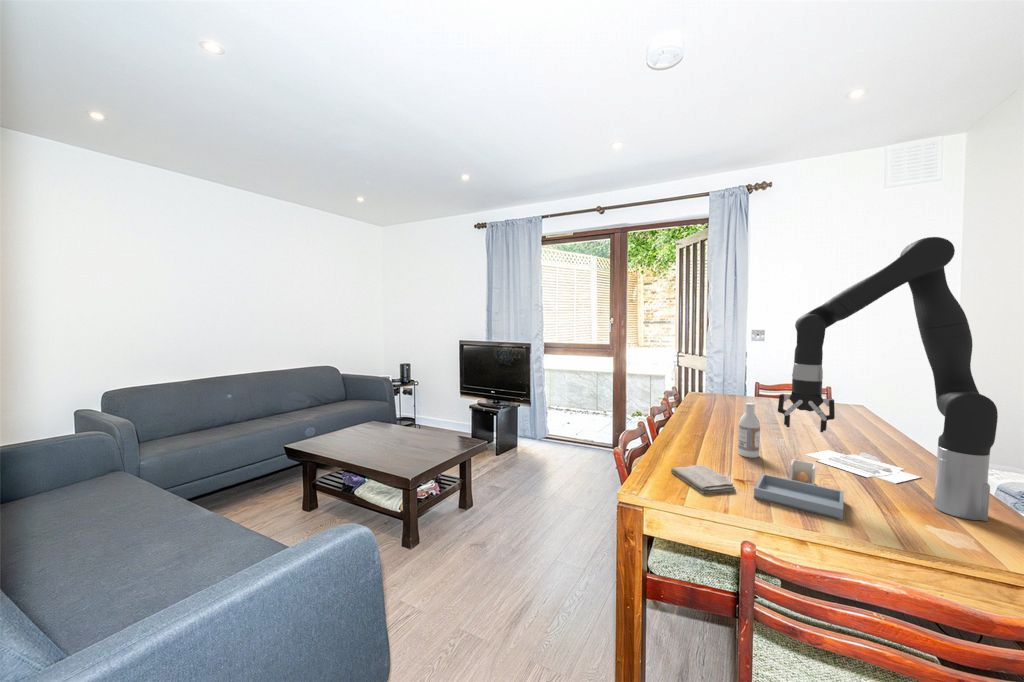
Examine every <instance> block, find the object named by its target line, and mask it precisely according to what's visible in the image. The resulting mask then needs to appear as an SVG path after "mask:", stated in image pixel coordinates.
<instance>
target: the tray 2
mask: <svg viewBox="0 0 1024 682" xmlns="http://www.w3.org/2000/svg"><path fill="white" fill-rule="evenodd" d="M805 456H807V457H810V458H813V459H817V462H819V463H821V464H824V465H828V466H831V467H835V468H838V469H841V470H844V471H847V472H849V473H852V474H856V475H859V476H862V477H865V478H866V479H870V478H876V479H879V480H883V481H885V482H889V483H891V484H895V485H896V484H898V483H902V482H907V481H912V480H915V479H920V478H921V479H922V476H919V475H915V474H912V473H909V472H905V469H904V468H903V467H898V466H895V465H892V464H888V463H885V462H882V460H881V459H880V458H878V457H876V456H874V455H873V454H869V453H867V452H864V451H861V452H860V453H859V454H854V453H852V454H843V453H839V452H837V451H834V450H829V449H828V450H822V451H817V452H811V453H805Z"/></svg>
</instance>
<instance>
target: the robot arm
mask: <svg viewBox="0 0 1024 682" xmlns="http://www.w3.org/2000/svg"><path fill="white" fill-rule="evenodd" d="M954 257H955V246H954V244H953V243H952V241H950V240H949V239H946V238H945V237H939V236H929V237H924V238H920V239H918V240H916V241H913V242H911V243H910V244H908V245H906V246H905V247H904V248H903V249H902V250H901V252H900V255H899V257H897V258H896V259H894V261H892V262H891V263H890V264H888V265H886V266H885V267H883V268H882V269H880V270H879V271H877V272H875V273H874V274H872V275H870V276H868V277H866V278H864V279H862V280H860V281H858V282H857V283H855V284H852V285H851V286H849V287H847V288H846V289H844V290H841V291H840V292H839V293H837V294H836V295H833V297H831V298H830V299H828V300H827V301H826V302H824V303H823V304H821V305H819V306H817V307H815V308H814V309H812V310H809V311H808V312H806V313H805V314H803V315H801V316H799V318H798V319H796V321H795V323H794V324H795V325H794V327H795V330H796V347H794V348H795V349H794V358H793V368H792V374H791V378H792V380H791V393H790V394H789V395H788V394H784V393H780V394H779V395H778V396H779V398H778V404H777V405H778V406H777V412H778V413H780V414H783V416H784V418H783V419H784V423H783V424H784V425H785V426H786V428H790V426H791V413H792V412H794V411H795V410H796V409H797V410H799V411H807V412H813V411H814V413H816V415H817V416H819V418H820V430H819V431H820V433H824V432H825V431H827V426H828V425H827V424H828V423H827V422H828V421H829V420H831V421H832V420H835V418H836V416H835V414H836V412H835V409H836V407H835V399H834V398H829V399H828V398H827V399H826V398H823V396H822V393H823V392H822V391H823V379H824V377H823V376H824V372H823V353H824V352H823V346H824V342H825V336H826V329H828V328H829V327H831V326H832V325H834V324H835V323H837V322H840V321H842V320H844V319H847V318H849V317H851V316H852V315H854V314H857V313H858V312H859V311H861V310H863V309H864V308H866V307H868V306H869V305H870V304H872V303H874V302H876V301H878V300H879V299H881V298H883V297H884V296H885V295H887V294H888V293H891V291H894V290H896V289H897V288H899V287H901V286H903V285H904V284H907V283H908V284H907V285H908V286H909V289H910V292H911V295H912V300H913V301H912V302H913V306H914V311H915V312H914V313H915V317H916V321H917V326H918V331H919V335H920V338H921V341H922V345H923V349H924V351H925V354H926V357H927V360H928V363H929V366H930V368H931V372H932V377H933V380H934V381H933V383H934V388H935V389H934V390H935V399H936V400H935V401H936V407H937V409H938V412H940V414H941V415H942V416H944V422H943V423H944V424H943V431H942V434H940V435H939V436H938V439H937V440H938V441H937V455H936V465H935V466H936V467H935V470H936V471H935V485H934V497H933V506H934V508H935V509H936V510H938V511H940V512H943V513H945V514H947V515H949V516H952V517H953V516H954V517H956V518H962V519H966V520H973V521H984V522H988V520H989V519H988V517H989V509H990V508H989V506H990V505H989V504H990V492H991V485H990V484H989V482H988V480H989V469H990V455H991V448H993V446H994V444H995V440H996V435H997V427H998V417H999V416H998V413H999V412H998V409H997V405H996V403H995V402H994V401H993V400H992V399H991V398H989V396H988V397H987V396H986V395H983V394H981V393H980V391H979V389H978V387H977V386H976V383H975V379H974V377H973V375H972V369H971V365H972V364H971V363H972V354H973V337H972V336H973V335H972V331H971V329H970V324H969V321H968V318H967V315H966V313H965V311H964V309H963V307H962V306H961V304H960V303H959V302H958V300H957V299H956V297H955V295H954V294H953V292H952V291H951V290H950V287H949V284H948V282H947V277H946V271H945V267H946V266H947V265H948V264H949V263H950V262H951V261H952V260H953V258H954ZM787 400H789V401H790V402H791V403H792V405H790V406H789V407H788V408H787V409H784V406H785V402H787ZM822 404H824V405H825V406H826V407H828V410H829V411H828V413H829V414H827V415H826V414H825V413H824V411H823V410H822V409H821V407H820V406H822Z"/></svg>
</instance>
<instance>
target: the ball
mask: <svg viewBox="0 0 1024 682" xmlns="http://www.w3.org/2000/svg"><path fill="white" fill-rule="evenodd" d="M796 478H797V480H798V481H799V482H803V483H806V482H808V480H809V477H808V475H807V474H806V473H804V472H799V473H798V474H797V475H796Z"/></svg>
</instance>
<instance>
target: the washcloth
mask: <svg viewBox="0 0 1024 682" xmlns="http://www.w3.org/2000/svg"><path fill="white" fill-rule="evenodd" d="M670 470H671V471H670V473H672V474H673V475H675V476H676V478H677V477H678V478H679V479H681V481H683V482H685V483H687V484H688V485H690V487H693V488H694V489H695V490H696V491H698V492H700V493H701V494H702V495H704V494H709V495H711V494H715V495H716V494H723V493H733V492H735V491H736V490H737V489H736V488H735V486H734V485H733V484H734V482H732V481H731V480H729V479H728V478H726V476H725V475H724V474H721V473H718V472H717V471H715V470H713V469H712V468H709V467H707V466H706V465H705V464H695V465H694V464H693V465H688V466H676V467H672V468H671V469H670Z"/></svg>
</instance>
